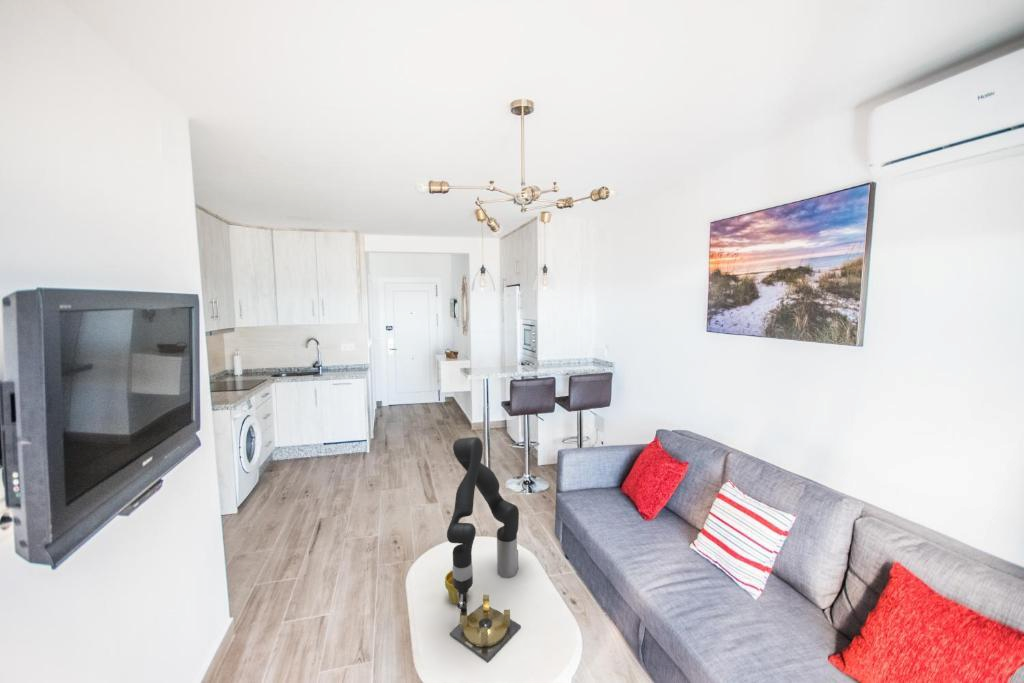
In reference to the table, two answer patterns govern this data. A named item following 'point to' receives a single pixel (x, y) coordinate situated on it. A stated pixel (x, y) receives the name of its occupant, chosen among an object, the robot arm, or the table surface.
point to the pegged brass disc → (485, 625)
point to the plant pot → (451, 587)
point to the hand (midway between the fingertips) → (463, 613)
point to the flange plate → (489, 651)
